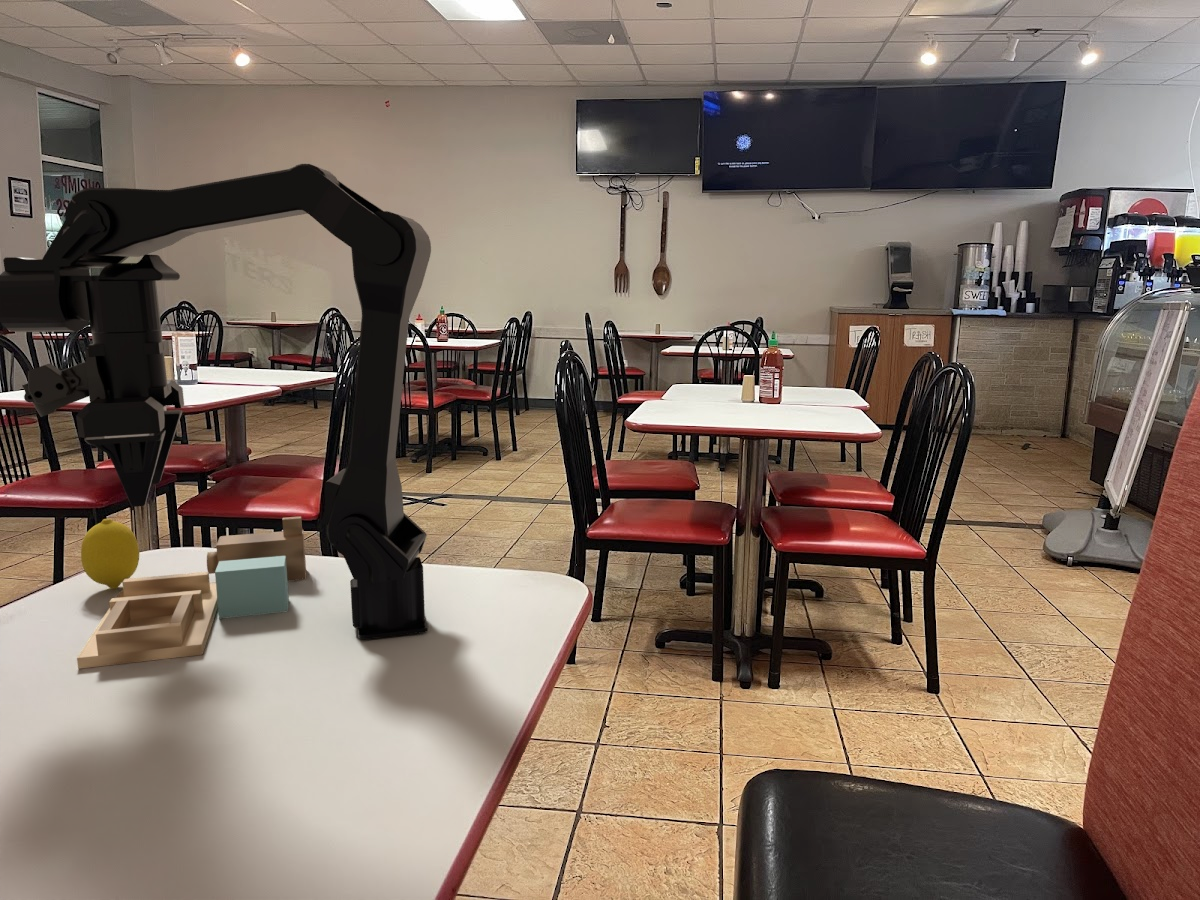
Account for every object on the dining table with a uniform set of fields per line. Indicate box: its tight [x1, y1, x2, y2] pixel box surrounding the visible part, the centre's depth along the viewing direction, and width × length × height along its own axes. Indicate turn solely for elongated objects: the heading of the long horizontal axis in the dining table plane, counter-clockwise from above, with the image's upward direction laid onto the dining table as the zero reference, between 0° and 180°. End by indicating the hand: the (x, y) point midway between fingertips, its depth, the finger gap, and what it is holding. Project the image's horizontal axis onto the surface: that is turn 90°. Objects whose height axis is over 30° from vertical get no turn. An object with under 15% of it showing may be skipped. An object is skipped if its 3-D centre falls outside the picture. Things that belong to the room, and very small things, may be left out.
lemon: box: [80, 518, 140, 590], centre depth 93 cm, size 6×6×8 cm
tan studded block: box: [206, 516, 307, 582], centre depth 97 cm, size 10×4×7 cm, turn 108°
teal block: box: [214, 556, 290, 619], centre depth 88 cm, size 4×6×5 cm, turn 108°
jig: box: [76, 571, 218, 670], centre depth 84 cm, size 10×17×3 cm, turn 18°
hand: (146, 494), depth 82 cm, fingers open, 9 cm apart
